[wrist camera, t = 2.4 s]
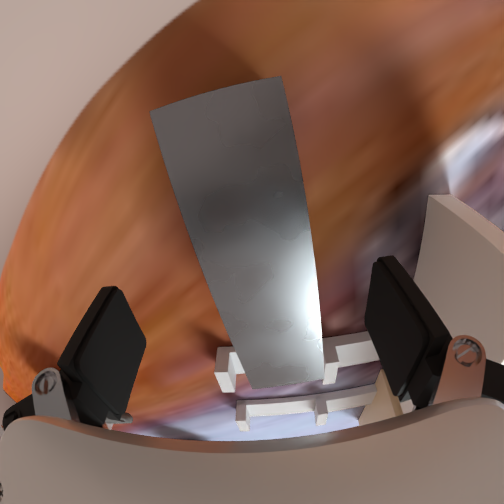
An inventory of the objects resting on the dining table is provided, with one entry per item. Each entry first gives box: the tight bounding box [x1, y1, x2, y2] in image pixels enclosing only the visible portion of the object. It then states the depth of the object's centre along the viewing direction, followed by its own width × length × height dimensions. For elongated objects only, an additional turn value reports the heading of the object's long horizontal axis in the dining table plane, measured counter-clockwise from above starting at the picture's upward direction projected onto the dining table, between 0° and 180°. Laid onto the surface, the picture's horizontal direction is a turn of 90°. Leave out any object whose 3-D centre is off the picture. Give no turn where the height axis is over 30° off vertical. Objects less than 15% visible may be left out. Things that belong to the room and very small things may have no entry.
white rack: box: [214, 194, 504, 431], centre depth 17 cm, size 18×30×11 cm, turn 7°
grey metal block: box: [150, 76, 325, 389], centre depth 13 cm, size 4×14×6 cm, turn 13°
